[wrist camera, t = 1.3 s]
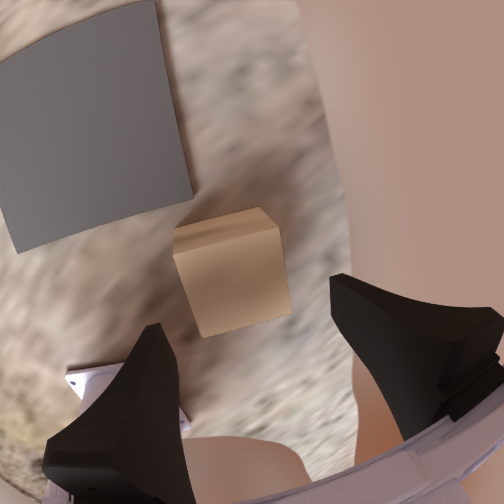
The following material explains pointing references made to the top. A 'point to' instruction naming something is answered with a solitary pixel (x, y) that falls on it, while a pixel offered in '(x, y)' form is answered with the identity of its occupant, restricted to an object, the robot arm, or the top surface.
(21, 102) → the charcoal mat
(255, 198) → the top surface
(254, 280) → the birch brick
